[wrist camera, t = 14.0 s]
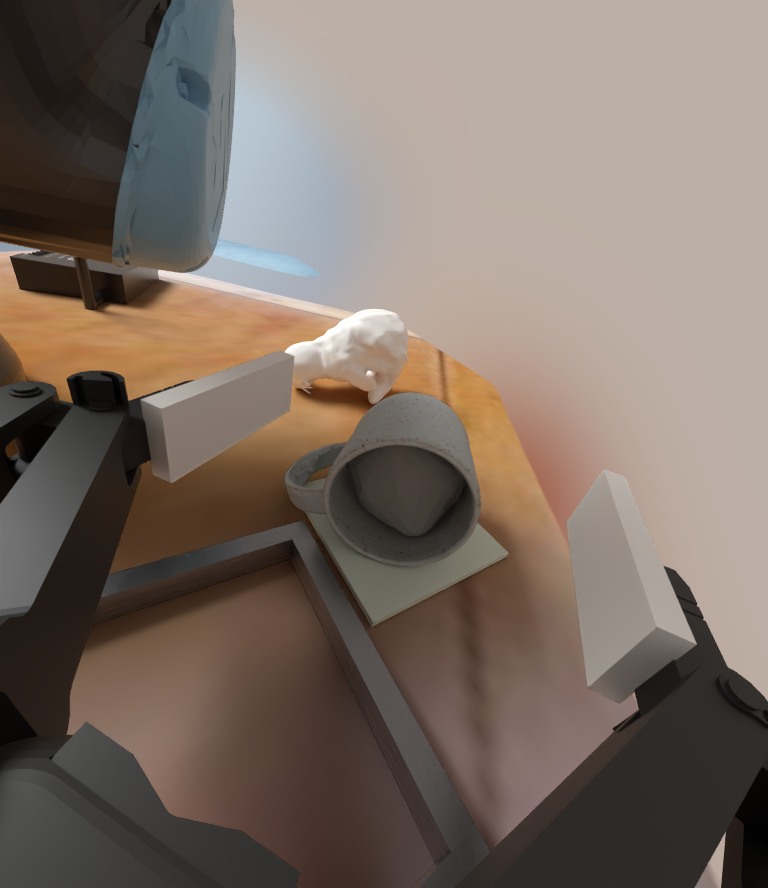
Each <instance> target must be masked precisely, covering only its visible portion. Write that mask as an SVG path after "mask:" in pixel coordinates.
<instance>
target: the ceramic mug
mask: <svg viewBox="0 0 768 888" xmlns="http://www.w3.org/2000/svg"><path fill="white" fill-rule="evenodd" d="M329 466H332V467H331V468H330V470H329V473H328V475H327V478H326V480H325V483H324V487H323V489H312V488H306V487H302V486H303V485H304V484H305V483H306V482H307V480H308V479H309V478H310V476H311V475H313V474H314V473H316V472H317V471H319V470H321V469H324V468H326V467H329ZM284 482H285V487H286V490H287V492H288V494H289V497H290V500H291V501H292V503H293V504H294V505H295V506H296V507H297V508H298V509H300V510H302V511H305V512H310V513H317V514H326V516H327V519H328V521H329V523H330V525H331V527H332V528H333V530H334V531H335V533H336V534H337V535H338V537H339V538H340V539H342V540H343V541H344V542H345V543H346V544H347V545H348V546H349V547H351V548H352V549H353V550H355V551H357V552H359V553H360V554H362V555H364V556H366V557H368V558H370V559H373V560H376V561H378V562H382V563H386V564H390V565H396V566H420V565H426V564H431V563H435V562H437V561H440V560H443V559H445V558H447V557H448V556H450V555H451V554H453V553H454V552H456V551H457V550H459V549H460V548H461V547H462V546H463V545H464V544H465V543H466V542H467V540H468V539H469V538H470V536H471V535H472V533H473V531H474V529H475V527H476V525H477V522H478V520H479V517H480V509H481V496H480V488H479V484H478V481H477V477H476V472H475V468H474V463H473V458H472V454H471V450H470V445H469V439H468V436H467V433H466V430H465V428H464V426H463V424H462V422H461V421H460V419H459V418H458V417H457V415H456V414H455V413H454V411H453V410H452V409H450V408H449V407H448V406H447V405H446V404H445V403H444V402H442V401H440V400H438V399H436V398H434V397H432V396H430V395H426V394H421V393H414V392H407V393H400V394H395V395H392V396H390V397H387V398H385V399H383V400H381V401H380V402H378V403H377V404H376V405H374V406H373V407H372V408H371V409H370V410H369V411H368V412H367V413H366V414H365V415H364V416H363V417H362V419H361V420H360V422H359V423H358V425H357V426H356V429H355V431H354V433H353V434H352V436H351V437H350V439H349V440H348V442H344V443H337V444H332V445H328V446H324V447H321V448H318V449H316V450H314V451H312V452H310V453H308V454H306V455H304V456H303V457H301V458H300V459H298V460H297V461H296V462H295V463H294V464H293V465H292V466H291V467H290V468H289V469H288V471H287V472H286V474H285V476H284Z"/></svg>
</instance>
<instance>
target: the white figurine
mask: <svg viewBox="0 0 768 888" xmlns="http://www.w3.org/2000/svg"><path fill="white" fill-rule="evenodd" d="M407 342H408V333H407V330H406V327H405V325H404V324H403V322H402V321H401V319H400V317H399V316H398V315H397V314H395V313H393V312H389V311H386V310H383V309H369V310H363V311H360V312H357V313H356V314H355V315H353V316H352V317H349V318H346V319H344V320H342V321H341V322H339V324H338V325H337V326H336V327H334V328H332V329H329V330H328V331H327V332H326V333H325V335H324V336H322V337H318V338H317V339H316V340H315V341H311V342H302V343H297V344H294V345H292V346H290V347H289V348H288V349H287V350H286V351H285V353H288V354H291V355H293V356H294V368H293V379H292V383H293V385H294V386H295V388H296V389H297V388H301V389H303V390H304V391H306V392H308V391H307V389H304V388H312V387H310V385H311V383H312V382H313V381H314V380H317V379H325V378H327V379H333V380H335V381H338V382H348V383H350V384H351V385H353V386H355V387H357V388H359V389H361V390H364V391H369V392H368V400H369V402H370V403H371V404H376V403H378V402H379V401H380V400H381V399H382V398H383V397H384V396H385V394H387V393H388V392H389V391H390V390H391V388H392V386H393V385H394V384H395V382H396V380H397V378H398V377H399V375H400V373H401V370H402V368H403V366H404V364H405V363H406V361H407V360H408V356H407V347H408V346H407ZM312 385H313V384H312ZM308 393H309V392H308Z"/></svg>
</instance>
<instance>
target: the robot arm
mask: <svg viewBox="0 0 768 888" xmlns="http://www.w3.org/2000/svg"><path fill="white" fill-rule="evenodd" d="M233 20H234V9H233V2H232V0H0V242H3V243H8V244H13V245H18V246H24V247H29V248H34V249H39V250H44V251H49V252H54V253H60V254H65V255H70V256H75V257H80V258H85V259H91V260H96V261H101V262H106V263H111V264H113V265H115V266H116V267H117V268H129V267H130V266H137V267H144V268H151V269H158V270H165V271H172V272H179V273H185V272H192V271H195V270H198V269H199V268H201V267H202V266H204V265H205V264H206V263H207V262H208V260H209V259H210V258H211V256H212V254H213V252H214V249H215V247H216V244H217V240H218V237H219V232H220V228H221V223H222V217H223V210H224V204H225V197H226V190H227V181H228V173H229V164H230V153H231V142H232V130H233V114H234V97H235V63H236V58H235V57H236V51H235V50H236V49H235V37H234V29H233V28H234V25H233ZM293 368H294V356H293V355H291V354H288V353H285V352H283V351H277V352H274V353H271V354H268V355H265V356H263V357H260V358H257V359H254V360H251V361H248V362H245V363H243V364H240V365H237V366H234V367H231V368H228V369H226V370H223V371H220V372H217V373H214V374H211V375H209V376H206V377H203V378H200V379H197V380H191V381H185V382H183V383H180V384H177V385H174V386H173V387H168V388H165V389H163V391H162V390H159V391H157V392H154V393H151V394H148V395H145V396H142V397H139V398H136V399H133V400H130V401H128V396H127V391H126V385H125V380H124V377H122V376H121V375H120V374H117V373H114V372H108V371H86V372H80V373H77V374H73V375H71V376H70V377H68V378H67V382H68V386H69V390H70V393H71V397H72V400H73V403H69V402H64V401H60V400H59V397H58V394H57V390H56V387H54V386H53V385H51V384H47V383H43V382H34V381H27V379H26V376H25V373H24V370H23V367H22V364H21V362H20V359H19V357H18V356H17V354H16V352H15V351H14V350H13V348H12V347H11V346H10V345H9V344H8V342H7V341H6V340H5V339H4V338H3V336H2V335H1V334H0V888H297V887H296V883H297V881H298V878H299V875H300V873H301V872H299V871H298V870H297V869H295V868H294V867H292V866H291V865H289V864H288V863H287V862H285V861H284V860H282V859H281V858H280V857H278V856H277V855H275V854H274V853H272V852H271V851H270V850H268V849H267V848H265V847H264V846H262V845H261V844H260V843H258V842H257V841H255V840H254V839H253V838H251V837H250V836H248V835H247V834H245V833H244V832H243V831H239V830H235V829H230V828H225V827H221V826H216V825H212V824H207V823H202V822H198V821H193V820H189V819H184V818H179V817H176V816H173V815H171V814H170V813H169V812H168V811H167V810H166V808H165V807H164V805H163V803H162V802H161V800H160V798H159V797H158V795H157V793H156V792H155V790H154V788H153V787H152V785H151V783H150V782H149V780H148V778H147V777H146V775H145V773H144V772H143V770H142V768H141V767H140V765H139V763H138V762H137V760H136V758H135V757H134V755H133V754H132V753H130V752H129V751H127V750H126V749H124V748H123V747H122V746H120V745H119V744H117V743H116V742H115V741H113V740H112V739H110V738H109V737H107V736H106V735H105V734H103V733H102V732H100V731H99V730H97V729H96V728H95V727H93V726H92V725H90V724H89V723H87V722H86V723H85V724H84V725H83V726H82V727H81V728H80V729H79V730H78V731H77V732H76V733H75V734H74V735H66V734H67V730H68V724H69V717H70V691H71V687H72V683H73V680H74V677H75V674H76V671H77V668H78V665H79V662H80V659H81V656H82V653H83V650H84V647H85V644H86V640H87V637H88V634H89V631H90V628H91V625H92V622H93V619H94V616H95V613H96V610H97V607H98V604H99V601H100V598H101V595H102V592H103V589H104V586H105V583H106V580H107V577H108V574H109V571H110V568H111V565H112V562H113V559H114V556H115V553H116V550H117V547H118V544H119V541H120V538H121V535H122V532H123V529H124V525H125V522H126V519H127V516H128V513H129V510H130V507H131V504H132V501H133V498H134V495H135V492H136V489H137V486H138V483H139V480H140V477H141V466H140V465H141V464H143V463H145V462H147V461H149V460H150V461H151V467H152V473H153V475H155V476H157V477H159V478H161V479H163V480H165V481H167V482H169V483H173V482H175V481H176V480H178V479H179V478H181V477H183V476H184V475H186V474H188V473H189V472H191V471H193V470H194V469H196V468H197V467H199V466H201V465H202V464H204V463H206V462H207V461H209V460H210V459H212V458H214V457H215V456H217V455H219V454H220V453H222V452H223V451H225V450H227V449H228V448H230V447H232V446H233V445H235V444H236V443H238V442H240V441H241V440H243V439H245V438H246V437H248V436H249V435H251V434H253V433H254V432H256V431H258V430H259V429H261V428H263V427H264V426H266V425H267V424H269V423H271V422H272V421H274V420H276V419H277V418H279V417H280V416H282V415H284V414H285V413H287V412H289V411H290V402H291V391H292V379H293ZM11 441H12V442H13V444H14V446H15V449H16V451H17V454H15V455H14V456H13V457H11V458H8V457H7V455H6V453H5V449H6V446H7V445H8V444H9V443H10V442H11ZM566 523H567V530H568V538H569V547H570V554H571V562H572V570H573V578H574V586H575V594H576V601H577V609H578V617H579V625H580V633H581V640H582V648H583V656H584V664H585V672H586V680H587V687H588V688H589V689H591V690H593V691H595V692H597V693H599V694H601V695H603V696H605V697H607V698H610V699H612V700H614V701H616V702H618V703H621V702H622V701H623V700H625V699H626V698H627V697H629V696H630V695H631V694H633V693H634V692H635V695H636V699H637V703H638V708H639V710H638V711H637V712H635V713H634V714H632V715H631V716H629V717H628V718H627V719H625V720H624V721H622V722H621V723H620V724H618V725H617V726H615V727H614V728H613V730H614V732H613V733H612V734H611V735H610V736H609V737H608V738H607V739H606V740H605V741H604V742H603V743H602V744H601V745H600V746H599V747H598V748H597V749H596V750H595V751H594V752H593V753H592V754H591V755H590V756H589V757H588V758H587V759H586V760H584V761H583V762H582V763H581V764H580V765H579V766H578V767H577V768H576V769H575V770H574V771H573V772H572V773H571V774H570V775H569V776H568V777H567V778H566V779H565V780H564V781H563V782H562V783H561V784H560V785H559V786H558V787H557V788H556V789H555V790H554V791H553V792H552V793H551V794H550V795H548V796H547V797H546V798H545V799H544V800H543V801H542V802H541V803H540V804H539V805H538V806H537V807H536V808H535V809H534V810H533V811H532V812H531V813H530V814H529V815H528V816H527V817H526V818H525V819H524V820H523V821H522V822H521V823H520V824H519V825H518V826H517V827H516V828H515V829H514V830H512V831H511V832H510V833H509V834H508V835H507V836H506V837H505V838H504V839H503V840H502V841H501V842H500V843H499V844H498V845H497V846H496V847H495V848H494V849H493V850H492V851H491V852H490V853H489V854H488V855H487V856H486V857H485V858H484V859H483V860H482V861H481V862H480V863H479V864H478V865H476V866H475V867H474V868H473V869H472V870H471V871H470V872H469V873H468V874H467V875H466V876H465V877H464V878H463V879H462V880H461V881H460V882H459V883H458V884H457V885H456V886H455V887H454V888H695V886H696V884H697V882H698V880H699V879H700V877H701V875H702V873H703V871H704V870H705V868H706V866H707V864H708V862H709V861H710V859H711V857H712V855H713V853H714V851H715V850H716V848H717V846H718V844H719V843H720V841H721V839H722V837H723V835H724V834H725V832H726V837H725V850H724V860H723V872H722V883H721V888H768V701H767V700H766V699H765V697H764V696H763V695H762V694H761V693H760V692H759V691H758V690H757V689H756V688H755V687H754V686H753V685H752V684H751V683H750V682H749V681H747V680H746V679H745V678H743V677H742V676H741V675H739V674H738V673H737V672H735V671H734V670H731V669H730V668H728V667H727V665H726V663H725V661H724V659H723V656H722V654H721V652H720V650H719V648H718V646H717V644H716V642H715V640H714V638H713V636H712V634H711V632H710V629H709V628H708V625H707V623H706V621H704V620H703V618H704V617H703V615H702V613H701V611H700V609H699V607H697V602H696V600H695V598H694V596H693V594H692V592H691V590H690V588H689V586H688V585H687V584H686V583H685V582H684V581H683V580H682V578H681V577H680V576H679V575H678V574H677V572H676V571H675V570H673V569H670V568H668V567H665V566H663V564H662V562H661V560H660V557H659V555H658V553H657V550H656V548H655V545H654V543H653V541H652V539H651V536H650V534H649V532H648V529H647V527H646V524H645V522H644V520H643V517H642V515H641V513H640V511H639V508H638V506H637V503H636V501H635V499H634V496H633V494H632V492H631V489H630V487H629V485H628V482H627V480H626V478H625V477H623V476H620V475H618V474H615V473H612V472H609V471H607V470H603V471H602V472H601V473H600V475H599V476H598V478H597V480H596V481H595V482H594V484H593V485H592V487H591V488H590V490H589V491H588V492H587V494H586V495H585V497H584V498H583V499H582V501H581V502H580V504H579V505H578V507H577V508H576V509H575V511H574V512H573V514H572V515H571V517H570V518H569V520H568V521H567V522H566Z"/></svg>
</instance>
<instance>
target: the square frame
mask: <svg viewBox="0 0 768 888" xmlns="http://www.w3.org/2000/svg"><path fill="white" fill-rule="evenodd" d="M288 559H290V560H291V562H292V564H293V566H294V568H295V570H296V572H297V574H298V577H299V579H300V581H301V583H302V585H303V587H304V589H305V591H306V593H307V595H308V597H309V600H310V602H311V604H312V606H313V608H314V610H315V612H316V614H317V616H318V618H319V621H320V623H321V625H322V627H323V629H324V631H325V633H326V635H327V637H328V639H329V641H330V644H331V646H332V648H333V650H334V652H335V654H336V656H337V658H338V660H339V662H340V665H341V667H342V669H343V671H344V673H345V675H346V677H347V679H348V681H349V683H350V685H351V688H352V690H353V692H354V694H355V696H356V698H357V700H358V702H359V704H360V706H361V709H362V711H363V713H364V715H365V717H366V719H367V721H368V723H369V725H370V727H371V729H372V732H373V734H374V736H375V738H376V740H377V742H378V744H379V746H380V748H381V750H382V753H383V755H384V757H385V759H386V761H387V763H388V765H389V767H390V769H391V771H392V774H393V776H394V778H395V780H396V782H397V784H398V786H399V788H400V790H401V792H402V794H403V797H404V799H405V801H406V803H407V805H408V807H409V809H410V811H411V813H412V815H413V818H414V820H415V822H416V824H417V826H418V828H419V830H420V832H421V834H422V836H423V838H424V841H425V843H426V845H427V847H428V849H429V851H430V853H431V855H432V857H433V859H434V862H435V864H434V865H433V866H432V867H431V868H430V869H429V870H428V871H427V872H426V874H425V875H424V876H423V877H422V878H421V879H420V880H419V881H418V882H417V884H416V885H415V886H414V887H413V888H454V887H455V886H456V885H457V884H458V883H459V882H460V881H461V880H462V879H463V878H464V877H465V876H466V875H467V874H468V873H469V872H470V871H471V870H472V869H473V868H474V867H475V866H476V865H478V864H479V863H480V862H481V861H482V860H483V859H484V858H485V857H486V856H487V855H488V854H489V853H490V851H489V849H488V847H487V845H486V844H485V842H484V840H483V838H482V836H481V835H480V833H479V831H478V829H477V828H476V826H475V824H474V822H473V820H472V819H471V817H470V815H469V813H468V812H467V810H466V808H465V806H464V804H463V803H462V801H461V799H460V797H459V796H458V794H457V792H456V790H455V788H454V787H453V785H452V783H451V781H450V780H449V778H448V776H447V774H446V772H445V771H444V769H443V767H442V765H441V764H440V762H439V760H438V758H437V756H436V755H435V753H434V751H433V749H432V748H431V746H430V744H429V742H428V740H427V739H426V737H425V735H424V733H423V732H422V730H421V728H420V726H419V724H418V723H417V721H416V719H415V717H414V716H413V714H412V712H411V710H410V708H409V707H408V705H407V703H406V701H405V700H404V698H403V696H402V694H401V692H400V691H399V689H398V687H397V685H396V684H395V682H394V680H393V678H392V676H391V675H390V673H389V671H388V669H387V668H386V666H385V664H384V662H383V660H382V659H381V657H380V655H379V653H378V652H377V650H376V648H375V646H374V644H373V643H372V641H371V639H370V637H369V636H368V634H367V632H366V630H365V628H364V627H363V625H362V623H361V621H360V620H359V618H358V616H357V614H356V612H355V611H354V609H353V607H352V605H351V604H350V602H349V600H348V598H347V596H346V595H345V593H344V591H343V589H342V588H341V586H340V584H339V582H338V580H337V579H336V577H335V575H334V573H333V572H332V570H331V568H330V566H329V564H328V563H327V561H326V559H325V557H324V556H323V554H322V552H321V550H320V548H319V547H318V545H317V543H316V541H315V540H314V538H313V536H312V534H311V532H310V531H309V529H308V527H307V525H306V524H305V522H304V520H302V521H298V522H295V523H291V524H288V525H284V526H280V527H277V528H273V529H270V530H266V531H263V532H259V533H255V534H252V535H248V536H245V537H241V538H237V539H234V540H230V541H227V542H223V543H219V544H216V545H212V546H209V547H205V548H201V549H198V550H194V551H191V552H187V553H183V554H180V555H176V556H173V557H169V558H165V559H162V560H158V561H155V562H151V563H148V564H144V565H140V566H137V567H133V568H130V569H126V570H122V571H119V572H115V573H112V574H108V577H107V580H106V583H105V586H104V589H103V592H102V595H101V598H100V601H99V604H98V607H97V610H96V613H95V616H94V619H93V622H92V625H95V624H98V623H101V622H104V621H107V620H110V619H113V618H116V617H119V616H122V615H124V614H127V613H130V612H133V611H136V610H139V609H142V608H145V607H148V606H151V605H154V604H157V603H160V602H163V601H166V600H169V599H172V598H175V597H178V596H181V595H184V594H187V593H190V592H193V591H196V590H199V589H202V588H205V587H208V586H211V585H214V584H217V583H220V582H223V581H226V580H229V579H232V578H235V577H238V576H240V575H243V574H246V573H249V572H252V571H255V570H258V569H261V568H264V567H267V566H270V565H273V564H276V563H279V562H282V561H285V560H288ZM92 625H91V626H92Z"/></svg>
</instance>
